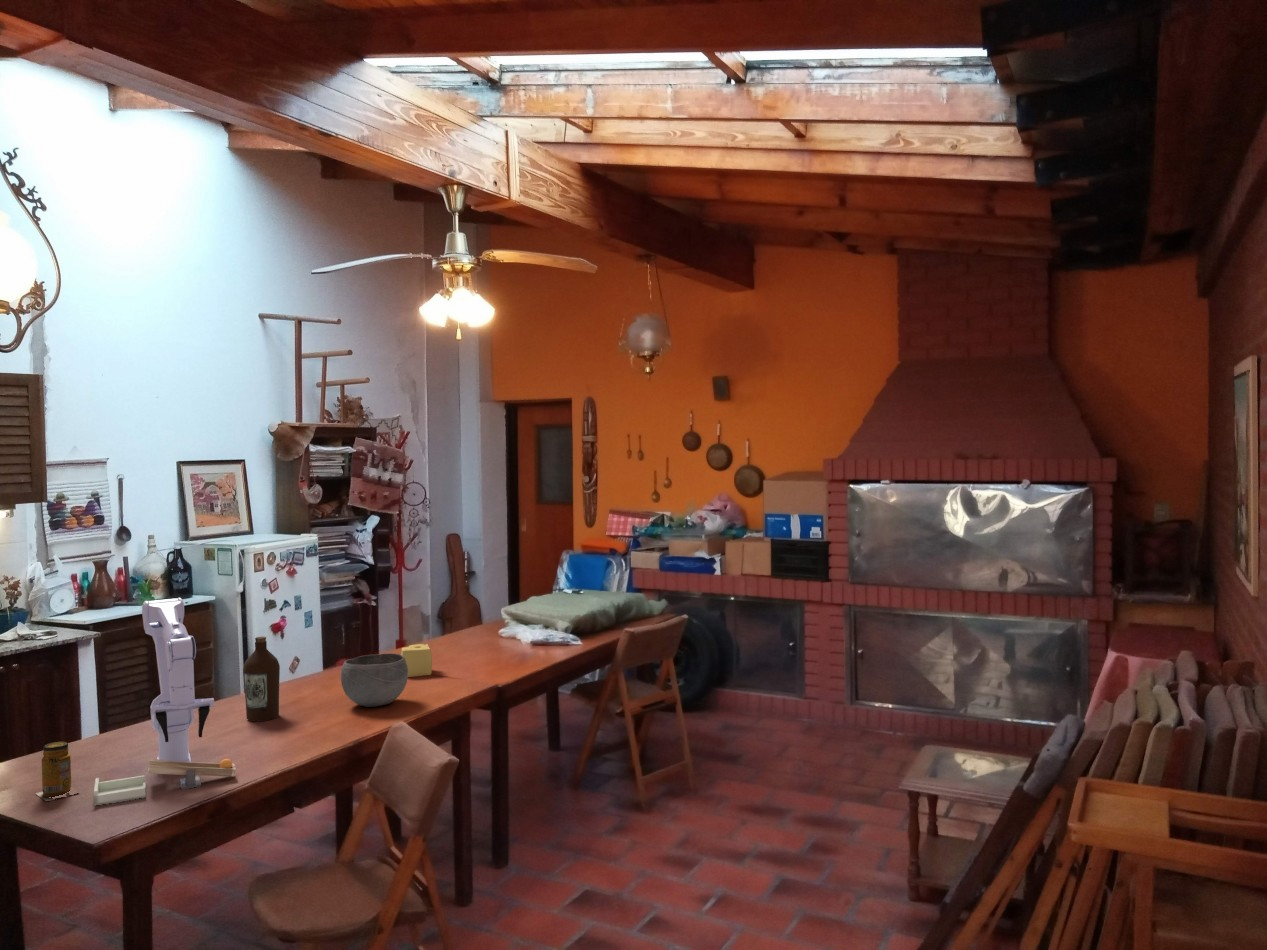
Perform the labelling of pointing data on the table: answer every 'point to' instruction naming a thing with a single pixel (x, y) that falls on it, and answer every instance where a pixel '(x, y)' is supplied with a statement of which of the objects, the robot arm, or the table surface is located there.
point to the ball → (226, 763)
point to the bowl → (374, 678)
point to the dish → (119, 790)
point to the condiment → (55, 770)
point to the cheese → (418, 659)
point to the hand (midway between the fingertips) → (183, 738)
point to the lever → (188, 768)
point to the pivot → (190, 780)
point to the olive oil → (261, 683)
